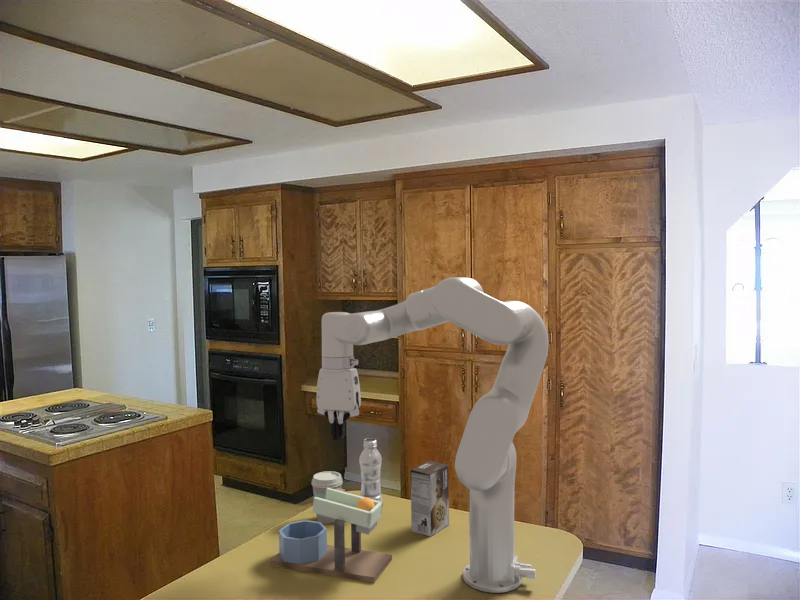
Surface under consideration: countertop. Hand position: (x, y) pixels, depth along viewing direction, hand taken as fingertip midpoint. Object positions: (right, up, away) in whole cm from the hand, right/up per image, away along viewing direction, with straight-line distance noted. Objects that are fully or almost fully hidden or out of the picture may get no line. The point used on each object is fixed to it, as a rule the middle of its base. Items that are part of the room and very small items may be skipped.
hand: (338, 438), depth 142 cm
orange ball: (+7, -13, -11) cm, 18 cm away
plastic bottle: (+7, -26, +22) cm, 35 cm away
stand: (-1, -27, -8) cm, 28 cm away
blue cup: (-8, -25, -5) cm, 27 cm away
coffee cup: (-5, -26, +17) cm, 31 cm away
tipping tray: (+4, -17, -7) cm, 18 cm away
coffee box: (+23, -26, +10) cm, 36 cm away
